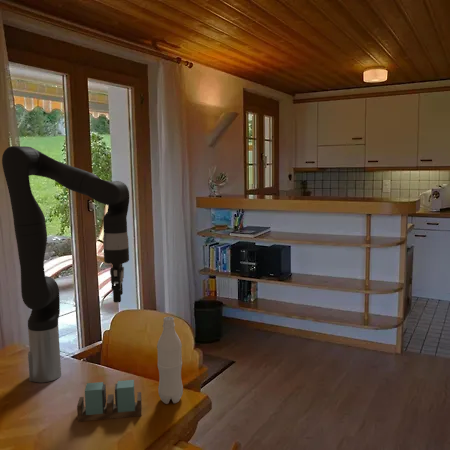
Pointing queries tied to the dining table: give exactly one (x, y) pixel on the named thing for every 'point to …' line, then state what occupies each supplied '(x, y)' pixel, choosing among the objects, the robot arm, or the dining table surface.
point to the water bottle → (169, 363)
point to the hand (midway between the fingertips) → (118, 298)
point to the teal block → (125, 396)
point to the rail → (108, 410)
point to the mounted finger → (95, 398)
